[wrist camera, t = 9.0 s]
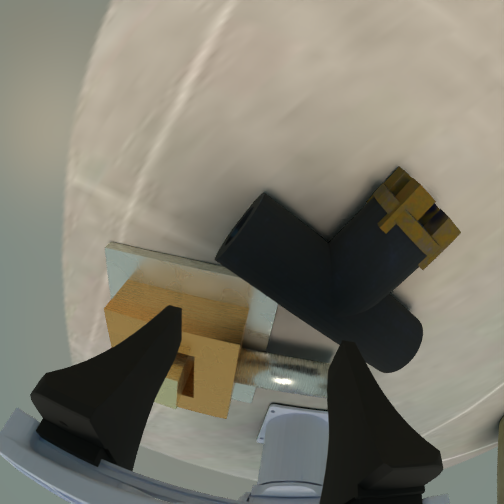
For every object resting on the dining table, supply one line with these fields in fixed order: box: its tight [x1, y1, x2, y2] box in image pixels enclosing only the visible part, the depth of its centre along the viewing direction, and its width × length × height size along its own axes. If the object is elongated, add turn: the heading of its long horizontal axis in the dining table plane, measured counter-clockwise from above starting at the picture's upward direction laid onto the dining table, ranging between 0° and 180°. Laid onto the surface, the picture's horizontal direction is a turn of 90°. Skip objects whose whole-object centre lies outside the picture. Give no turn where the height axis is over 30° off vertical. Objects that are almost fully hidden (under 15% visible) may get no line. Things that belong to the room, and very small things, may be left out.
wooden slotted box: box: [104, 242, 331, 419], centre depth 24 cm, size 15×20×5 cm
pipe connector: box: [215, 167, 461, 373], centre depth 19 cm, size 12×5×15 cm
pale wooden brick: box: [154, 352, 195, 409], centre depth 24 cm, size 4×2×7 cm, turn 168°
